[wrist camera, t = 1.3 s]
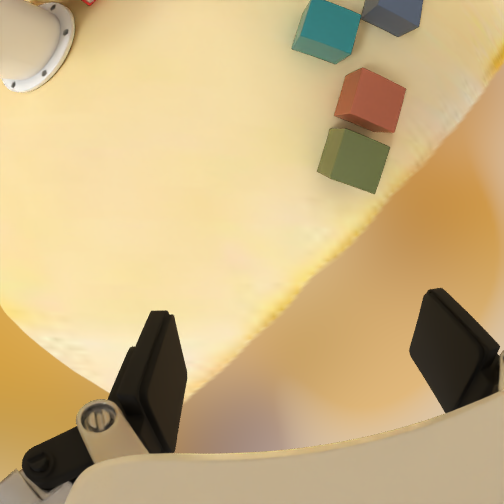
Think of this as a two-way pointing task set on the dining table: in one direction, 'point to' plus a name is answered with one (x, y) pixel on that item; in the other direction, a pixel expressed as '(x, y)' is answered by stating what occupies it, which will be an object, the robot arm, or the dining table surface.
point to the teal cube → (326, 31)
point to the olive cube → (353, 159)
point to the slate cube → (393, 15)
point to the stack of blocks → (88, 2)
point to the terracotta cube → (370, 101)
